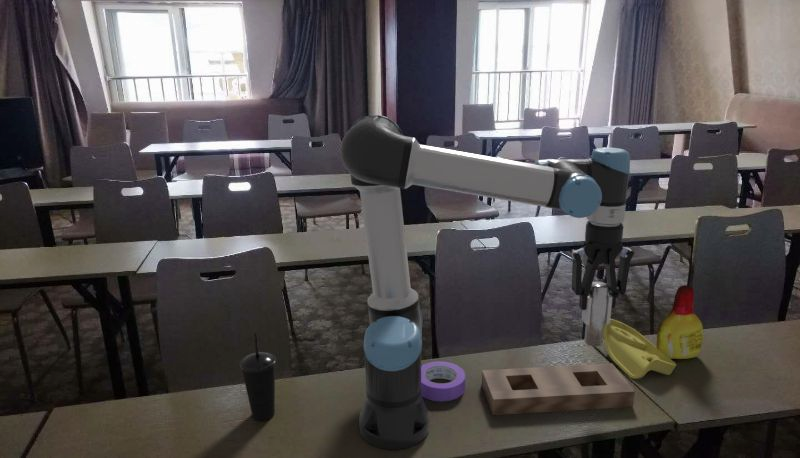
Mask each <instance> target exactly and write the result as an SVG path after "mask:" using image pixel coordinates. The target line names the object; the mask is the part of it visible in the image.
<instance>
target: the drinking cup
mask: <svg viewBox="0 0 800 458" xmlns="http://www.w3.org/2000/svg"><path fill="white" fill-rule="evenodd" d="M253 342H254V343H253V344H254V349H255V350H254V353H250V354H247V355H246V356H244V357H242V359H241V360H240V362H239V367H240V370H241V371H242V375H243V380H244V384H245V389H246V393H247V398H248V401H249V407H250V411H251V415H252V418H253V420H255V421H256V422H265V421H268V420H270V419H272V418H274V415H275V406H276V405H275V400H276V399H275V397H276V396H275V394H276V388H275V387H276V385H275V384H276V383H275V382H276V375H275V374H276V371H275V370H276V363H277V357H276V356H275V355H274V354H272V353H271V352H265V351H264V352H263V351H259V342H258V334H257V333H254V334H253Z"/></svg>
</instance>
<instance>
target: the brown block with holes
mask: <svg viewBox="0 0 800 458" xmlns="http://www.w3.org/2000/svg"><path fill="white" fill-rule="evenodd" d="M481 387H482V389H483V392H484V395H485V397H486V400H487V403H488V405H489V408H490V411H491V414H492V415H493V416H499V415H502V416H503V415H515V414H516V415H517V414H531V413H532V414H535V413H549V412H550V413H551V412H552V413H554V412H567V411H571V412H572V411H582V410H583V411H584V410H600V409H602V410H603V409H621V408H633V407H634V402H635V394H636V390H635V389H634V388H633V387H632V386H631V384H629V382H628V381H627V379H626V378H625V377H624V376H623V374H622V373H621V372H620V371H619V370H618V369H617V368H616V366H615V365H614V363H612V362H610V363H592V364H576V365H575V364H573V365H572V364H571V365H554V366H535V367H517V368H515V367H514V368H498V369H497V368H496V369H495V368H494V369H482V370H481Z"/></svg>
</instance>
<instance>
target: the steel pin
mask: <svg viewBox="0 0 800 458" xmlns="http://www.w3.org/2000/svg"><path fill="white" fill-rule="evenodd" d="M608 289H609V286H608V284H607V282H606V283H605V282H603V281H593V282H592V286H591V289H590V292H589V296H591V297H592V302H591V313H590V324H589V325H586V324H585V331H584V332H585V333H584V343H585V344H586V345H588V346H589V347H597V348H598V347H601V346H603V345H604V330H605V325H606V323H605V318H606V309H607V299H608V292H609V291H608Z"/></svg>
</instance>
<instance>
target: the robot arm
mask: <svg viewBox="0 0 800 458" xmlns="http://www.w3.org/2000/svg"><path fill="white" fill-rule="evenodd" d="M402 132H403V131H402V130H401V128H400V127H399V125H398V124H397V123H396V122H395V121H393V120H392V119H391V118H389V117H387V116H384V115H380V114H371V115H367V116H363V117H362V118H359V119H358V120H356V122H354V123H353V125H352V126H351V127H350V129H349V130H348V131H346V132H345V135H344V136H343V139H342V140H341V144H340V149H339V151H340V158H341V162H342V164H343V167H344V168H345V170H346V171H347V172H348V173H349V175H350V180H351V181H350V182H351V183H350V184H351V186H353V187H354V188H355V189H357V190H358V191H359V195H360V197H359V198H360V203H361V211H362V219H363V225H364V234H365V239H366V240H365V242H366V249H367V256H368V264H369V271H370V282H371V288H372V293H371V294H370V296H369V297H368V298H367V309H368V315H369V316H368V317H369V325H368V327H367V328H366V330H365V334H364V339H363V342H362V343H363V351H364V353H363V354H364V368H365V369H364V370H365V373H364V374H365V392H366V393H365V394H366V395H365V398H364V402H363V405H362V408H361V411H360V414H359V419H358V421H359V422H358V423H359V424H358V427H359V428H358V429H359V433H360V435H361V437H362V438H363V440H365V442H367V443H368V444H370V445H372V446H373V447H377V448H380V449H384V450H401V449H403V450H404V449H406V448H410V447H414V446H415V445H417V444H419V443H421V442H422V441H423V440H425V438H426V437H427V435H428V434H429V431H430V414H429V412H428V409H427V406H426V404H425V401H424V399H423V398H424V397H423V396H422V395H421V366H422V348H423V347H422V346H423V338H422V335H423V333H422V332H423V331H422V330H423V329H422V328H423V320H424V319H423V314H422V313H423V312H422V311H421V308H420V299H419V293H418V292H417V291H416V290H415V289H413V288H411V278H410V269H409V262H408V261H409V259H408V253H407V249H408V248H407V242H406V233H405V226H404V223H405V222H404V215H403V204H402V196H401V195H402V194H401V189H408V188H409V187H411V186H413V185H414V186H419V187H425V188H426V187H427V188H431V189H438V190H443V191H450V192H456V193H461V194H467V195H473V196H478V197H484V198H489V199H496V200H502V201H507V202H513V203H519V204H525V205H531V206H537V207H543V208H549V209H553V210H558V211H559V210H560V211H562V212H563V213H565V214H566V215H567V216H570V217H572V218H577V219H582V218H586V220H587V221H586V222H585V223H586V224H585V233H584V239H585V240H584V242H583V244H582V246H581V248H579V249H571V250H570V252H569V253H570V256H571V259H572V266H571V267H572V271H571V291H572V292H573V293H574V294H575V295H576V296H579V301H578V306H579V308H580V309H581V321H582V322H583V324H585V326H586V325H589V324H590V313H591V302H592V297H591V296H589V292H590V289H591V286H592V282H594V279H595V276H596V272H597V270H598V269H599V265H602V264H604V267H605V268H604V271H605V279H606V284H608V286H609V289H608V299H607V309H606V318H605V325H606V324H610V318H611V315H612V309H615V308H616V302H617V298H619V296H620V293H621V294H623V293H626V291H627V286H628V278H629V273H630V272H629V271H630V265H631V261H632V259H633V257H634V255H635V251H634V250H632V249H631V248H630V247H628V246H623V245H624V244H623V243H622V240H623V236H624V227H625V226H624V224H623V223H624V221H625V215H626V207H627V206H626V204H627V194H628V187H629V178H630V174H631V173H630V171H631V170H630V169H631V167H630V166H631V155H630V153H629V151H628V150H626V149H624V148H618V147H597V148H594V149H593V151H591V155H590V158H585V159H583V158H581V159H580V158H577V159H576V158H575V159H573V158H571V159H569V158H561V159H558V158H556V159H555V158H554V159H553V158H547V159H537V160H535V161H534V162H533V163H529V162H523V161H517V160H511V159H507V158H500V157H494V156H490V155H483V154H477V153H472V152H466V151H460V150H454V149H449V148H442V147H437V146H432V145H426V144H420V143H419V141H418V140H417V139H416V137H412V136H406V135H404V134H403V133H402ZM584 255H586V257H587V259H586V267H585V269H584V273H583V261H582V260H583V259H584ZM619 255H620V257H619V262H618V268H617V269H618V270H617V274H616V265H617V264H616V259H617V257H618V256H619ZM582 275H583V276H582Z"/></svg>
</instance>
